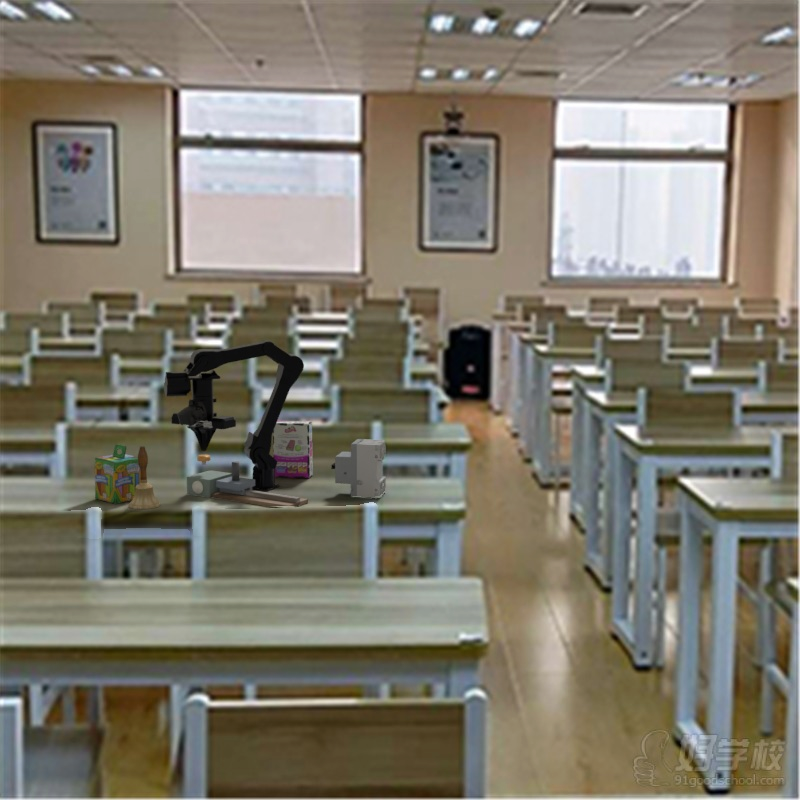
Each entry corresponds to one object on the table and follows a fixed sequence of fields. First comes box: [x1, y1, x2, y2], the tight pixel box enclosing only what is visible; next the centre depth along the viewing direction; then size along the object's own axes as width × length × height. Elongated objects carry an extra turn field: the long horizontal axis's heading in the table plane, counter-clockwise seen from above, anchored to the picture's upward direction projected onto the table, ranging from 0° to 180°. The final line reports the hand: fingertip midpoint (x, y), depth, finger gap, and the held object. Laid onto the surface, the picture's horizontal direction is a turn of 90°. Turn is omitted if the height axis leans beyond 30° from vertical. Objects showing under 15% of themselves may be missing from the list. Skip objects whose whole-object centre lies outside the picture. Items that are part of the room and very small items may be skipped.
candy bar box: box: [272, 420, 314, 479], centre depth 347 cm, size 11×5×16 cm, turn 82°
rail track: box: [211, 488, 309, 507], centre depth 317 cm, size 9×26×2 cm, turn 60°
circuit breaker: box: [330, 438, 387, 498], centre depth 324 cm, size 8×14×15 cm, turn 78°
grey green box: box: [186, 469, 232, 499], centre depth 325 cm, size 10×8×5 cm
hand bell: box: [128, 446, 161, 510], centre depth 309 cm, size 8×8×16 cm
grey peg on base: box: [216, 461, 255, 495], centre depth 321 cm, size 7×8×8 cm
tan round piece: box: [196, 454, 211, 466], centre depth 326 cm, size 4×4×2 cm
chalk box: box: [94, 443, 141, 505], centre depth 317 cm, size 9×9×15 cm
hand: (203, 450), depth 325 cm, fingers closed
